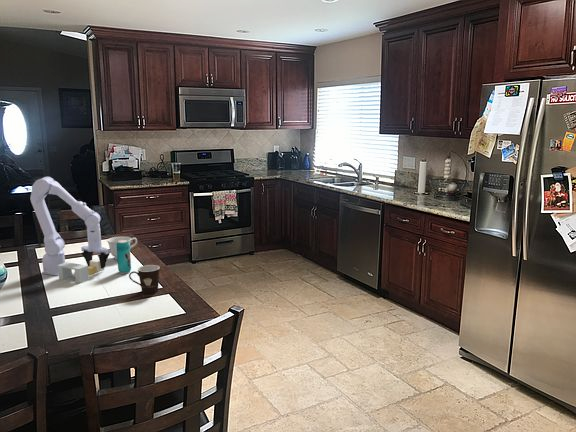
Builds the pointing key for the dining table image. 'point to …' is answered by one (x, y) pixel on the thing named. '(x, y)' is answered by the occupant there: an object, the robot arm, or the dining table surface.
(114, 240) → the teacup
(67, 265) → the housing
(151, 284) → the coffee mug
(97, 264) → the plug
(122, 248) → the beverage can
